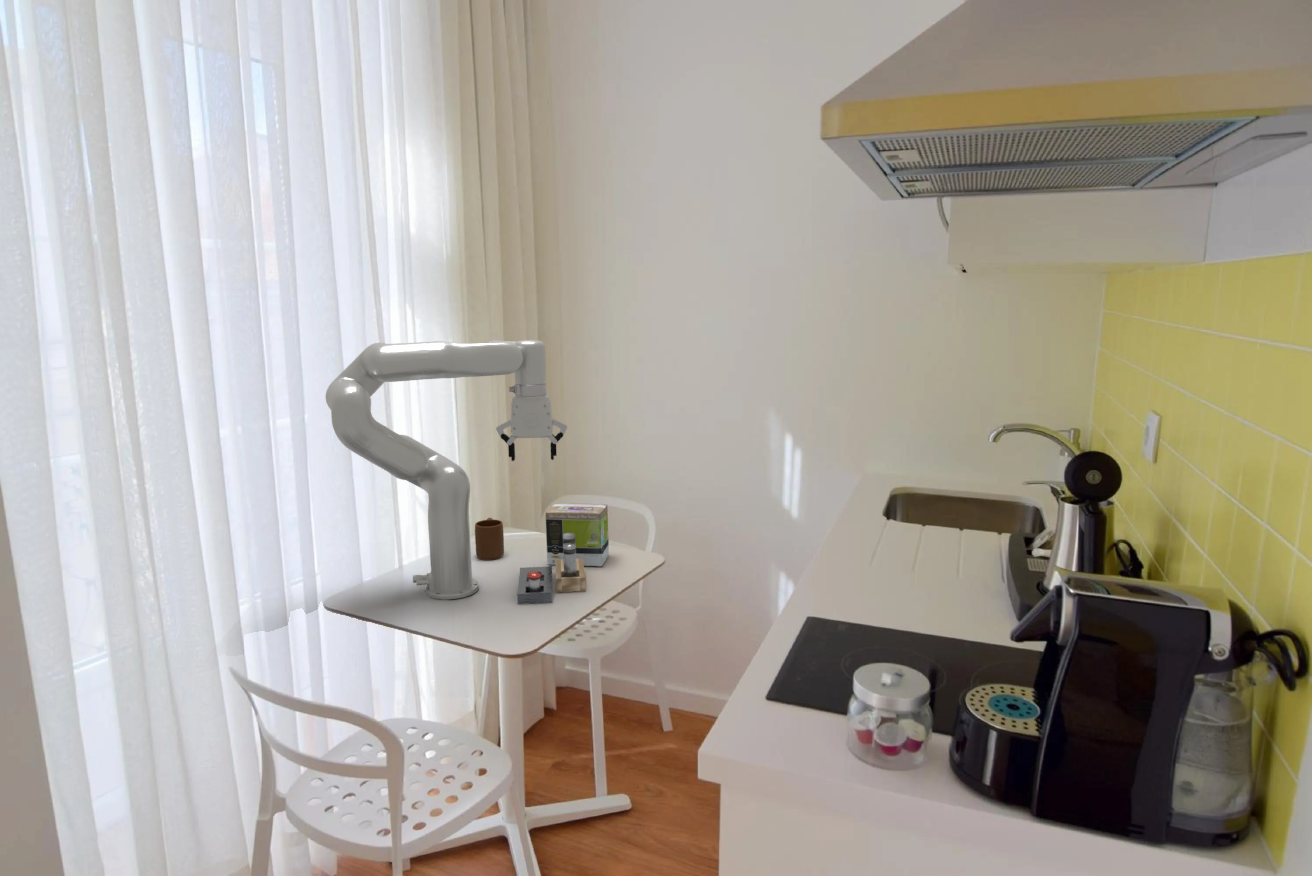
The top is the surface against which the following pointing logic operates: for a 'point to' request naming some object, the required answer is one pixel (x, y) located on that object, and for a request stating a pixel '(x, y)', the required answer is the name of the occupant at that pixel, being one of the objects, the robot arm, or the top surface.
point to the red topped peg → (534, 581)
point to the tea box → (578, 532)
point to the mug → (489, 539)
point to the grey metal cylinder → (569, 559)
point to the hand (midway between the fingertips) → (532, 459)
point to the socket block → (545, 586)
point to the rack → (570, 582)
